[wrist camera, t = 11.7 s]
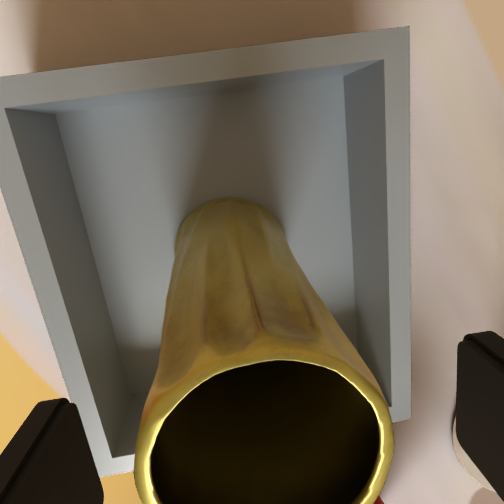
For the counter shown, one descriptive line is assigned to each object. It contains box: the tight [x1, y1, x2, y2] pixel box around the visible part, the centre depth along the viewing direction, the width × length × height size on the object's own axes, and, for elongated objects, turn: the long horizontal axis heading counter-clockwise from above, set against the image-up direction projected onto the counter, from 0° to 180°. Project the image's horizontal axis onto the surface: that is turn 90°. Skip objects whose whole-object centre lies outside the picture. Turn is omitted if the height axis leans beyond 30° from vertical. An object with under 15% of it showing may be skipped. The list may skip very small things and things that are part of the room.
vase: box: [133, 197, 394, 504], centre depth 14 cm, size 6×6×14 cm
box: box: [0, 26, 411, 477], centre depth 19 cm, size 16×18×6 cm
